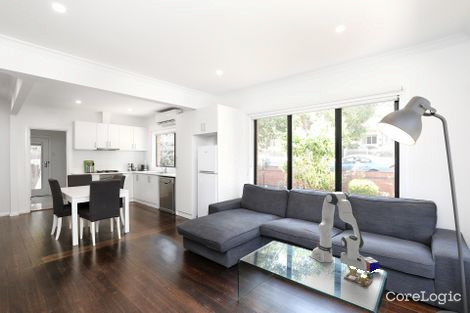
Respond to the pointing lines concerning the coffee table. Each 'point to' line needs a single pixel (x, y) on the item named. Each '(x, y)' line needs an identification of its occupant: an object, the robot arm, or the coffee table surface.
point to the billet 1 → (352, 271)
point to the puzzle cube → (371, 264)
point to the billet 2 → (363, 279)
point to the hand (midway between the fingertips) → (352, 271)
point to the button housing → (369, 275)
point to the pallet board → (357, 280)
